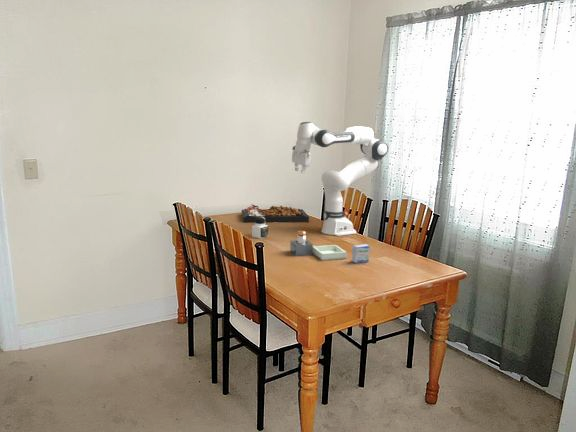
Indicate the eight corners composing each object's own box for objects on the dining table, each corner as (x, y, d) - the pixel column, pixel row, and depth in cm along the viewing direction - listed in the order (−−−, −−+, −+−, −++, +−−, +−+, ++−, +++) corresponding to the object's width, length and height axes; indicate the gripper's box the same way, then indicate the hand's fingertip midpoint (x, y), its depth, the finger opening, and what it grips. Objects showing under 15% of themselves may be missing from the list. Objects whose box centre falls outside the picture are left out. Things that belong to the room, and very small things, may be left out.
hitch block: (306, 249, 265) (306, 239, 264) (312, 254, 257) (312, 244, 255) (290, 251, 262) (290, 240, 261) (295, 256, 254) (296, 245, 252)
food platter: (243, 223, 323) (243, 208, 321) (241, 215, 347) (241, 201, 345) (308, 223, 330) (309, 208, 328) (302, 215, 354) (302, 201, 352)
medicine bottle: (260, 239, 285) (260, 219, 282) (251, 236, 289) (251, 217, 286) (268, 236, 290) (268, 217, 288) (259, 234, 294) (259, 215, 292)
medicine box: (356, 263, 245) (357, 247, 243) (351, 261, 248) (352, 245, 246) (368, 261, 248) (369, 245, 246) (363, 259, 252) (364, 243, 250)
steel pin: (303, 251, 262) (304, 230, 260) (306, 253, 258) (307, 232, 256) (296, 252, 261) (296, 230, 258) (298, 254, 257) (299, 232, 254)
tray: (335, 250, 265) (335, 244, 264) (346, 258, 252) (346, 252, 251) (312, 252, 261) (312, 246, 260) (321, 260, 248) (322, 254, 247)
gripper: (314, 151, 277) (311, 175, 280) (300, 147, 296) (297, 169, 298) (304, 150, 275) (301, 174, 277) (291, 146, 293) (288, 169, 296)
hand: (299, 171), depth 288 cm, fingers open, 8 cm apart
